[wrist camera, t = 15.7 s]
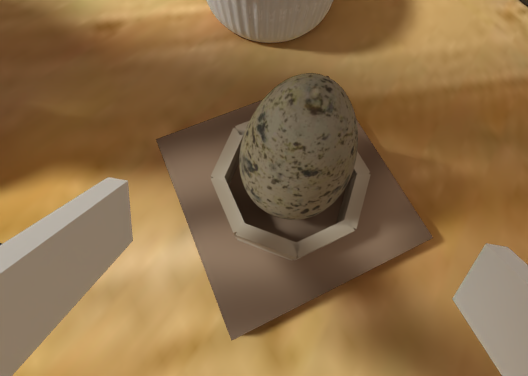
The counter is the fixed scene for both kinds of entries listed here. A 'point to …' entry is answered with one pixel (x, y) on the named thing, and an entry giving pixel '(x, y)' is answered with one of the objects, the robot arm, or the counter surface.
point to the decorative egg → (299, 147)
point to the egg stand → (281, 225)
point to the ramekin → (270, 17)
